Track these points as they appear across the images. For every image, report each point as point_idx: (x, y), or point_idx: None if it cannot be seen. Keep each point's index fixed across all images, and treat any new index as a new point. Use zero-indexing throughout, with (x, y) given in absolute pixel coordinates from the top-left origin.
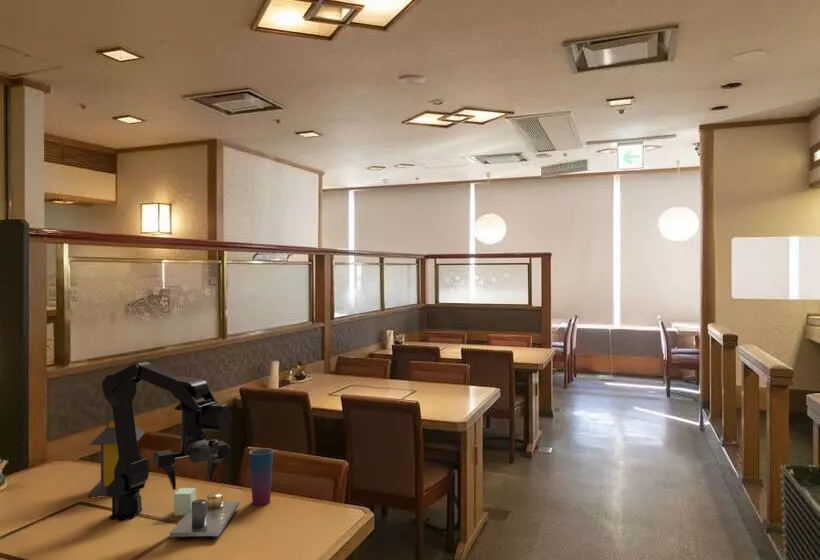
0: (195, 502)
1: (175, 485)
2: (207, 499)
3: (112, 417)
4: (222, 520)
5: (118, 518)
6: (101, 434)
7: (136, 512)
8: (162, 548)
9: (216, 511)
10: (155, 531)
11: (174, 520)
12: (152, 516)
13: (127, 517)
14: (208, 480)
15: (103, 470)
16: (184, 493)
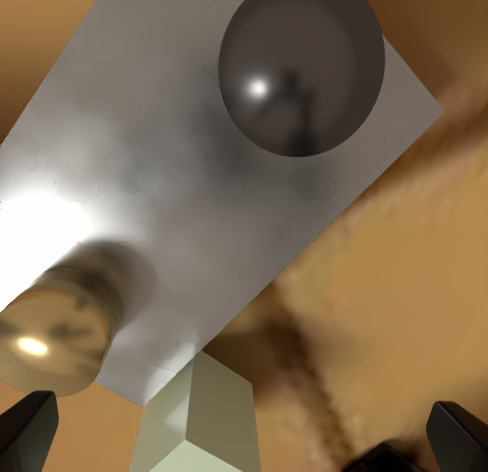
0: (335, 94)
1: (475, 434)
2: (107, 341)
3: None
4: (107, 40)
5: (417, 466)
6: None
7: (366, 468)
8: (477, 61)
9: (93, 224)
10: (387, 282)
11: (273, 337)
12: (319, 421)
13: (399, 454)
14: (47, 419)
15: None
16: (212, 460)
